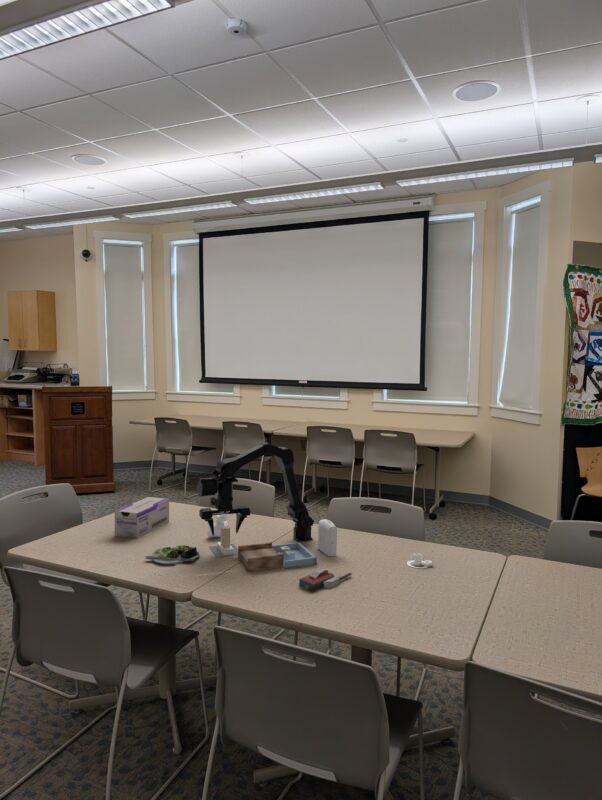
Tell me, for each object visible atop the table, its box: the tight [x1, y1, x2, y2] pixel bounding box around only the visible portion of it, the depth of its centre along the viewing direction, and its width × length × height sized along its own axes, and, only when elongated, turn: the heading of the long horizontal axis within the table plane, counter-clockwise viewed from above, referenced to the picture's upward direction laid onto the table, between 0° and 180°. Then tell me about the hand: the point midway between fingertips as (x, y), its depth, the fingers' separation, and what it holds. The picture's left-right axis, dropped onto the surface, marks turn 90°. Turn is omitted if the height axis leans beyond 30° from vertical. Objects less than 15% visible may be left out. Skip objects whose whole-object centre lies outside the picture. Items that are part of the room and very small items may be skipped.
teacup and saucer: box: [406, 552, 433, 569], centre depth 200 cm, size 9×8×4 cm
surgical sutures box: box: [114, 496, 170, 539], centre depth 238 cm, size 25×11×11 cm, turn 163°
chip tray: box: [272, 541, 318, 569], centre depth 205 cm, size 12×18×3 cm, turn 21°
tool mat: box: [208, 543, 238, 559], centre depth 211 cm, size 10×13×1 cm
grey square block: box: [285, 551, 295, 560], centre depth 202 cm, size 3×3×3 cm
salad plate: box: [145, 544, 200, 566], centre depth 203 cm, size 19×18×5 cm
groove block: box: [237, 542, 284, 572], centre depth 200 cm, size 13×14×4 cm
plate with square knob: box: [216, 526, 234, 556], centre depth 211 cm, size 4×10×9 cm, turn 22°
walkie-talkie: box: [298, 568, 353, 592], centre depth 183 cm, size 9×4×20 cm
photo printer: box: [317, 518, 338, 557], centre depth 212 cm, size 10×4×12 cm, turn 23°
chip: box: [280, 546, 290, 557], centre depth 206 cm, size 3×3×3 cm
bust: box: [206, 514, 230, 539], centre depth 229 cm, size 12×8×11 cm
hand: (224, 534), depth 210 cm, fingers open, 9 cm apart
